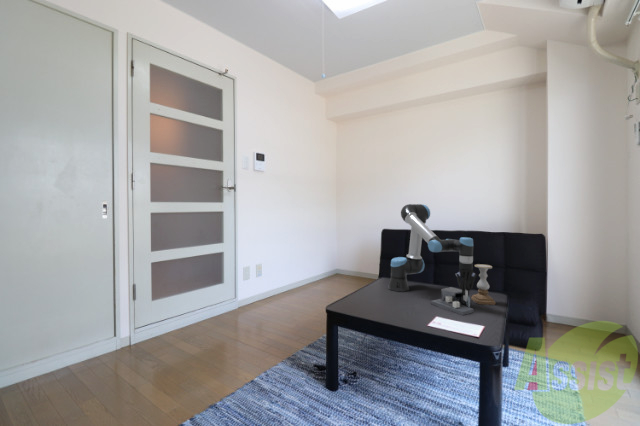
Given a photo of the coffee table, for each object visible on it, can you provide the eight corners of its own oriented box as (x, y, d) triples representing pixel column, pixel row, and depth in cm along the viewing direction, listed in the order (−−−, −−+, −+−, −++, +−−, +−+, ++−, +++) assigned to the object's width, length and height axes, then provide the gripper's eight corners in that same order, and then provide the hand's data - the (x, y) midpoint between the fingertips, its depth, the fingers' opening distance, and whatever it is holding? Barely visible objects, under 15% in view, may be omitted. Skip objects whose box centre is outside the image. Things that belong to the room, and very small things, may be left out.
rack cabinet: (441, 301, 189) (441, 288, 189) (451, 298, 194) (451, 287, 194) (454, 305, 180) (454, 292, 180) (464, 303, 185) (464, 290, 185)
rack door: (468, 307, 175) (468, 296, 175) (464, 302, 185) (464, 292, 185) (472, 308, 175) (473, 297, 175) (469, 303, 184) (469, 292, 184)
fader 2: (452, 306, 171) (452, 301, 171) (455, 305, 173) (456, 300, 172) (456, 307, 169) (456, 302, 169) (459, 307, 170) (459, 301, 170)
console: (430, 304, 183) (430, 300, 183) (441, 301, 188) (441, 298, 188) (462, 315, 164) (462, 311, 164) (473, 312, 169) (473, 308, 169)
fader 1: (445, 301, 181) (445, 296, 181) (448, 300, 183) (448, 295, 183) (448, 302, 179) (448, 297, 179) (452, 301, 180) (452, 296, 180)
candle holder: (487, 299, 193) (488, 264, 193) (496, 305, 182) (496, 267, 182) (470, 299, 194) (471, 263, 194) (477, 304, 183) (478, 267, 183)
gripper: (458, 263, 174) (458, 302, 174) (479, 263, 174) (479, 302, 174) (452, 261, 181) (452, 298, 182) (473, 261, 182) (472, 298, 182)
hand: (465, 300), depth 178 cm, fingers closed
